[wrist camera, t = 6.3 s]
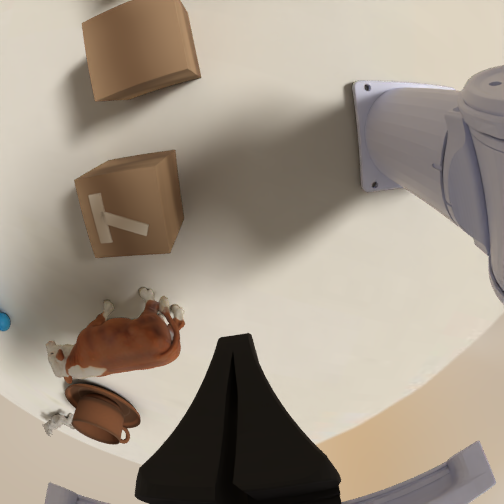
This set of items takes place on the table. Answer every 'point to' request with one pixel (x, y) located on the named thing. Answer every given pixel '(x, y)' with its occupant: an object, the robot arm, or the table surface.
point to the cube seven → (132, 205)
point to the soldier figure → (57, 423)
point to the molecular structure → (4, 322)
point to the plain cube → (139, 49)
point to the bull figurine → (121, 342)
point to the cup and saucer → (101, 413)
